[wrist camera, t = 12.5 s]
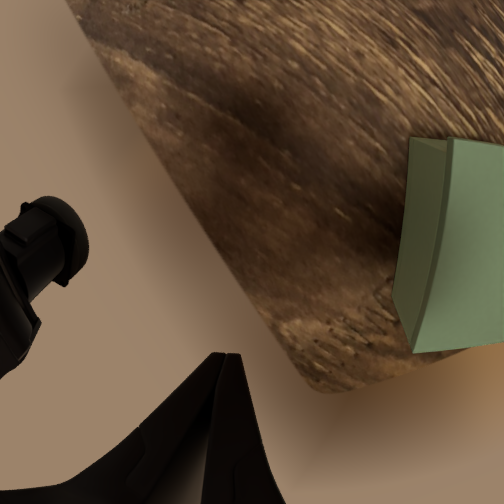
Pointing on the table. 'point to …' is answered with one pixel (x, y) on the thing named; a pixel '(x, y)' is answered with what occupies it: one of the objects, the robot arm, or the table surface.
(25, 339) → the robot arm
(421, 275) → the green square tray
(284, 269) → the table surface
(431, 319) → the lid
